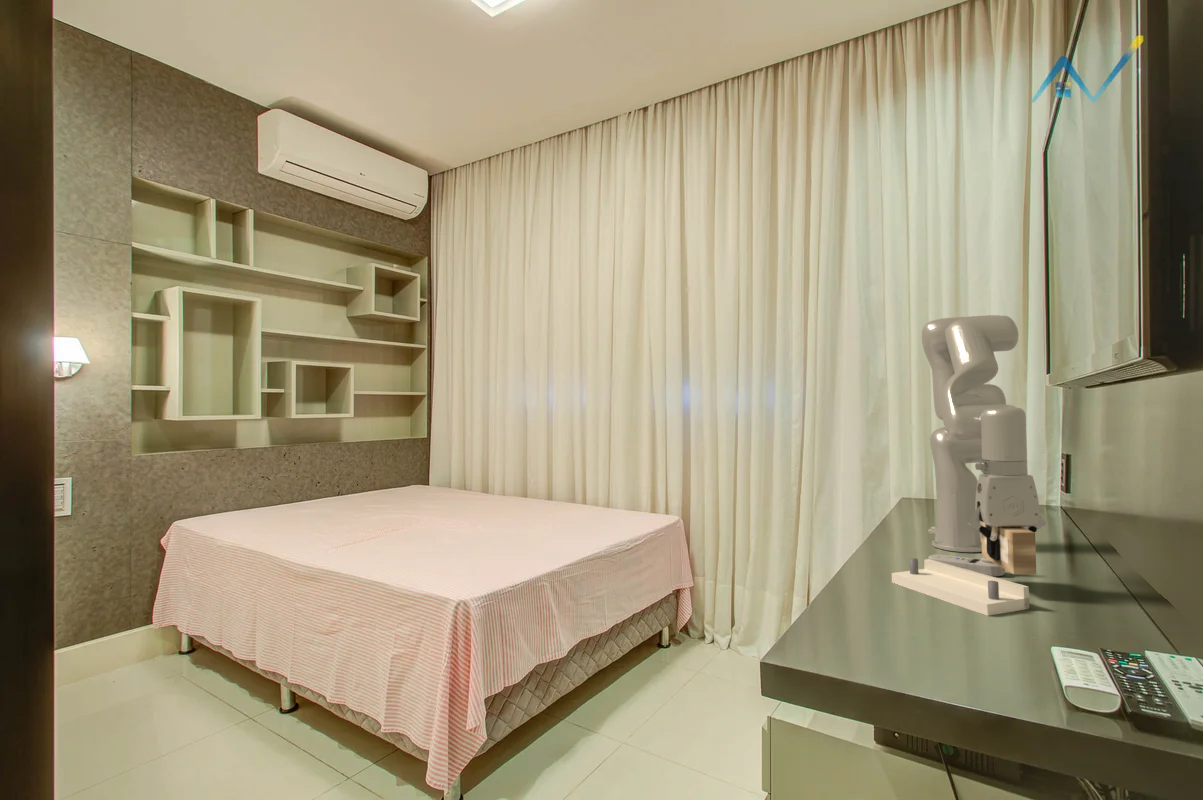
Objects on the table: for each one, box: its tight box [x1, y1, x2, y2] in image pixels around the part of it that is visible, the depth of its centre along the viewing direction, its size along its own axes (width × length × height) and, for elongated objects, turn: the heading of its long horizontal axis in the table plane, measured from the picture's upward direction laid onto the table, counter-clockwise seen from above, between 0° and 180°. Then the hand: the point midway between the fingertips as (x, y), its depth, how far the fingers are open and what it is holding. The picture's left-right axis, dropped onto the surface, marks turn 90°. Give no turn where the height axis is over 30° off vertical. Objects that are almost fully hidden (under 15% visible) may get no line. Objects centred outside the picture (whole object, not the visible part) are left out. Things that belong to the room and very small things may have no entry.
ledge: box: [891, 558, 1030, 617], centre depth 115 cm, size 22×10×5 cm, turn 17°
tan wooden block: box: [980, 521, 1037, 575], centre depth 118 cm, size 12×4×8 cm, turn 172°
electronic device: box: [927, 554, 1006, 577], centre depth 132 cm, size 5×10×15 cm
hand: (1007, 557), depth 118 cm, fingers closed on tan wooden block, 4 cm apart
